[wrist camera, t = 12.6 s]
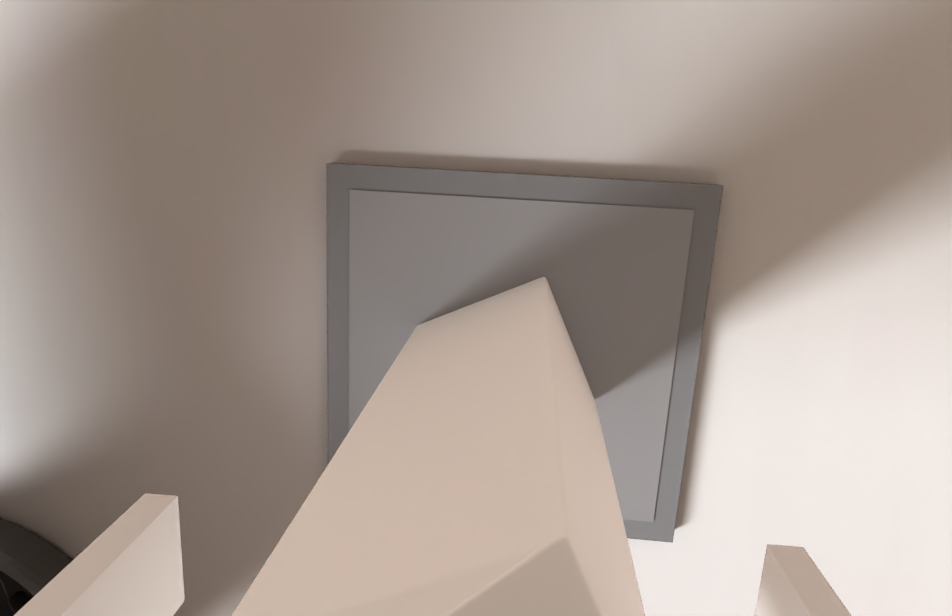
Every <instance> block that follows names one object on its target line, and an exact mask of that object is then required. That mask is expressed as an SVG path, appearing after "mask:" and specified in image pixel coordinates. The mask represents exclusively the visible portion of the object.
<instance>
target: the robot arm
mask: <svg viewBox="0 0 952 616" xmlns="http://www.w3.org/2000/svg"><path fill="white" fill-rule="evenodd" d="M184 601H185V596H184V581H183V566H182V550H181V535H180V520H179V504H178V496H174V495H161V494H149V493H145V494H144V495H143V496H142V497H141V498H139V499H138V500H137V501H136V502H135V503H134V504H133V505H132V506H131V507H130V508H129V509H128V510H127V511H125V512H124V513H123V514H122V515H121V516H120V517H119V518H118V519H117V520H116V521H115V522H114V523H113V524H111V525H110V526H109V527H108V528H107V529H106V530H105V531H104V532H103V533H102V534H101V535H100V536H99V537H97V538H96V539H95V540H94V541H93V542H92V543H91V544H90V545H89V546H88V547H87V548H86V549H85V550H84V551H82V552H81V553H80V554H79V555H78V556H77V557H76V558H75V559H74V560H73V561H71V560H70V559H69V558H68V557H67V556H66V555H65V554H63V553H62V552H61V551H60V550H58V549H57V548H56V547H54V546H53V545H51V544H50V543H49V542H47V541H46V540H44V539H42V538H41V537H39V536H37V535H36V534H34V533H32V532H30V531H28V530H26V529H24V528H22V527H20V526H17V525H15V524H13V523H10V522H7V521H4V520H1V519H0V616H174V614H175V613H176V612H177V610H178V609H179V608H180V606H181V605H182V604H183V602H184ZM754 616H851V615H850V613H849V612H848V610H847V609H846V607H845V606H844V605H843V603H842V602H841V600H840V599H839V597H838V596H837V595H836V593H835V592H834V590H833V589H832V587H831V586H830V585H829V583H828V582H827V580H826V579H825V577H824V576H823V575H822V573H821V572H820V570H819V569H818V567H817V566H816V565H815V563H814V562H813V560H812V559H811V557H810V556H809V555H808V553H807V552H806V550H805V549H804V547H794V546H781V545H769V544H767V549H766V554H765V560H764V565H763V571H762V576H761V582H760V588H759V593H758V599H757V604H756V610H755V615H754Z"/></svg>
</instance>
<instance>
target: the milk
mask: <svg viewBox="0 0 952 616" xmlns="http://www.w3.org/2000/svg"><path fill="white" fill-rule="evenodd" d="M231 616H645V613H644V608H643V604H642V600H641V596H640V591H639V587H638V583H637V578H636V574H635V570H634V566H633V561H632V557H631V553H630V549H629V544H628V540H627V536H626V532H625V527H624V523H623V519H622V514H621V510H620V506H619V502H618V497H617V493H616V489H615V485H614V480H613V476H612V472H611V468H610V463H609V459H608V455H607V450H606V446H605V442H604V438H603V433H602V429H601V425H600V421H599V416H598V412H597V408H596V404H595V400H594V397H593V394H592V392H591V389H590V387H589V384H588V382H587V379H586V377H585V374H584V372H583V369H582V367H581V364H580V362H579V359H578V357H577V354H576V352H575V349H574V347H573V344H572V342H571V339H570V337H569V334H568V332H567V329H566V327H565V324H564V322H563V319H562V317H561V314H560V312H559V309H558V306H557V304H556V301H555V299H554V296H553V294H552V291H551V289H550V286H549V284H548V281H547V279H546V277H541V278H538V279H536V280H533V281H531V282H528V283H525V284H523V285H520V286H518V287H515V288H513V289H510V290H507V291H505V292H502V293H500V294H497V295H494V296H492V297H489V298H487V299H484V300H482V301H479V302H476V303H474V304H471V305H469V306H466V307H463V308H461V309H458V310H456V311H453V312H451V313H448V314H445V315H443V316H440V317H438V318H435V319H432V320H430V321H427V322H425V323H422V324H420V325H418V326H417V327H416V328H415V330H414V331H413V333H412V334H411V336H410V337H409V339H408V341H407V342H406V344H405V345H404V347H403V348H402V350H401V351H400V353H399V355H398V356H397V358H396V359H395V361H394V362H393V364H392V365H391V367H390V369H389V370H388V372H387V373H386V375H385V376H384V378H383V380H382V381H381V383H380V384H379V386H378V387H377V389H376V390H375V392H374V394H373V395H372V397H371V398H370V400H369V401H368V403H367V405H366V406H365V408H364V409H363V411H362V412H361V414H360V415H359V417H358V419H357V420H356V422H355V423H354V425H353V426H352V428H351V430H350V431H349V433H348V434H347V436H346V437H345V439H344V440H343V442H342V444H341V445H340V447H339V448H338V450H337V451H336V453H335V455H334V456H333V458H332V459H331V461H330V462H329V464H328V465H327V467H326V469H325V470H324V472H323V473H322V475H321V476H320V478H319V480H318V481H317V483H316V484H315V486H314V487H313V489H312V490H311V492H310V494H309V495H308V497H307V498H306V500H305V501H304V503H303V505H302V506H301V508H300V509H299V511H298V512H297V514H296V515H295V517H294V519H293V520H292V522H291V523H290V525H289V526H288V528H287V530H286V531H285V533H284V534H283V536H282V537H281V539H280V540H279V542H278V544H277V545H276V547H275V548H274V550H273V551H272V553H271V555H270V556H269V558H268V559H267V561H266V562H265V564H264V565H263V567H262V569H261V570H260V572H259V573H258V575H257V576H256V578H255V580H254V581H253V583H252V584H251V586H250V587H249V589H248V590H247V592H246V594H245V595H244V597H243V598H242V600H241V601H240V603H239V605H238V606H237V608H236V609H235V611H234V612H233V614H232V615H231Z"/></svg>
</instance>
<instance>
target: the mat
mask: <svg viewBox="0 0 952 616" xmlns="http://www.w3.org/2000/svg"><path fill="white" fill-rule="evenodd" d="M722 190H723V186H721V185H713V184H695V183H678V182H660V181H642V180H624V179H606V178H589V177H571V176H553V175H535V174H517V173H499V172H482V171H464V170H446V169H428V168H410V167H393V166H375V165H357V164H339V163H329V164H327V365H328V464H329V462H330V461H331V459H332V458H333V456H334V455H335V453H336V451H337V450H338V448H339V447H340V445H341V444H342V442H343V440H344V439H345V437H346V436H347V434H348V433H349V431H350V430H351V428H352V426H353V425H354V423H355V422H356V420H357V419H358V417H359V415H360V414H361V412H362V411H363V409H364V408H365V406H366V405H367V403H368V401H369V400H370V398H371V397H372V395H373V394H374V392H375V390H376V389H377V387H378V386H379V384H380V383H381V381H382V380H383V378H384V376H385V375H386V373H387V372H388V370H389V369H390V367H391V365H392V364H393V362H394V361H395V359H396V358H397V356H398V355H399V353H400V351H401V350H402V348H403V347H404V345H405V344H406V342H407V341H408V339H409V337H410V336H411V334H412V333H413V331H414V330H415V328H416V327H417V326H418V325H420V324H422V323H425V322H427V321H430V320H432V319H435V318H438V317H440V316H443V315H445V314H448V313H451V312H453V311H456V310H458V309H461V308H463V307H466V306H469V305H471V304H474V303H476V302H479V301H482V300H484V299H487V298H489V297H492V296H494V295H497V294H500V293H502V292H505V291H507V290H510V289H513V288H515V287H518V286H520V285H523V284H525V283H528V282H531V281H533V280H536V279H538V278H541V277H546V279H547V281H548V284H549V286H550V289H551V291H552V294H553V296H554V299H555V301H556V304H557V306H558V309H559V312H560V314H561V317H562V319H563V322H564V324H565V327H566V329H567V332H568V334H569V337H570V339H571V342H572V344H573V347H574V349H575V352H576V354H577V357H578V359H579V362H580V364H581V367H582V369H583V372H584V374H585V377H586V379H587V382H588V384H589V387H590V389H591V392H592V394H593V397H594V400H595V404H596V408H597V412H598V416H599V421H600V425H601V429H602V433H603V438H604V442H605V446H606V450H607V455H608V459H609V463H610V468H611V472H612V476H613V480H614V485H615V489H616V493H617V497H618V502H619V506H620V510H621V514H622V519H623V523H624V527H625V532H626V536H627V538H631V539H641V540H652V541H663V542H673V536H674V529H675V522H676V515H677V508H678V501H679V494H680V487H681V480H682V473H683V466H684V459H685V451H686V444H687V437H688V430H689V423H690V416H691V409H692V402H693V395H694V388H695V381H696V374H697V367H698V360H699V352H700V345H701V338H702V331H703V324H704V317H705V310H706V303H707V296H708V289H709V282H710V275H711V268H712V261H713V253H714V246H715V239H716V232H717V225H718V218H719V211H720V204H721V197H722Z"/></svg>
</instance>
